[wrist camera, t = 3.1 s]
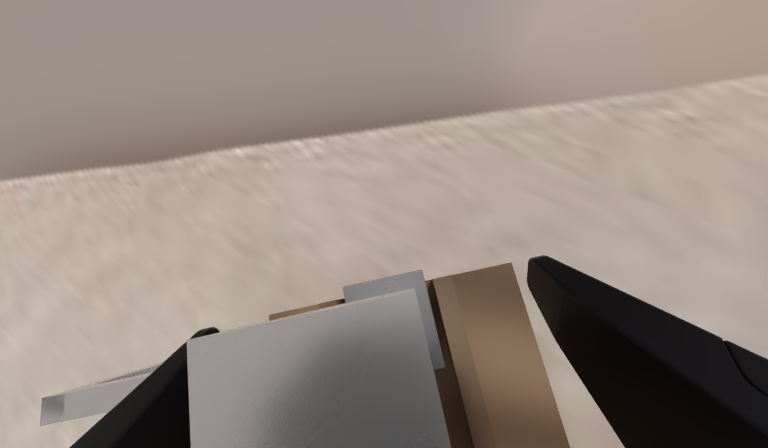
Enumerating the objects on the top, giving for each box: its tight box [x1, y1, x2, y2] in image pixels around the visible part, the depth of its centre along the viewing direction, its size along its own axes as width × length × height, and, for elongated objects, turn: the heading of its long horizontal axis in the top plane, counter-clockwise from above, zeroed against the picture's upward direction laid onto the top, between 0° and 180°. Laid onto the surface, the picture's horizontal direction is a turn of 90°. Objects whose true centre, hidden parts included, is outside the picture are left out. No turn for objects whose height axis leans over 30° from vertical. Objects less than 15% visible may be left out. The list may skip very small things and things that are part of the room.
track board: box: [269, 263, 570, 448], centre depth 12 cm, size 13×12×3 cm
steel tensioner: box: [40, 270, 451, 448], centre depth 8 cm, size 4×13×10 cm, turn 102°
